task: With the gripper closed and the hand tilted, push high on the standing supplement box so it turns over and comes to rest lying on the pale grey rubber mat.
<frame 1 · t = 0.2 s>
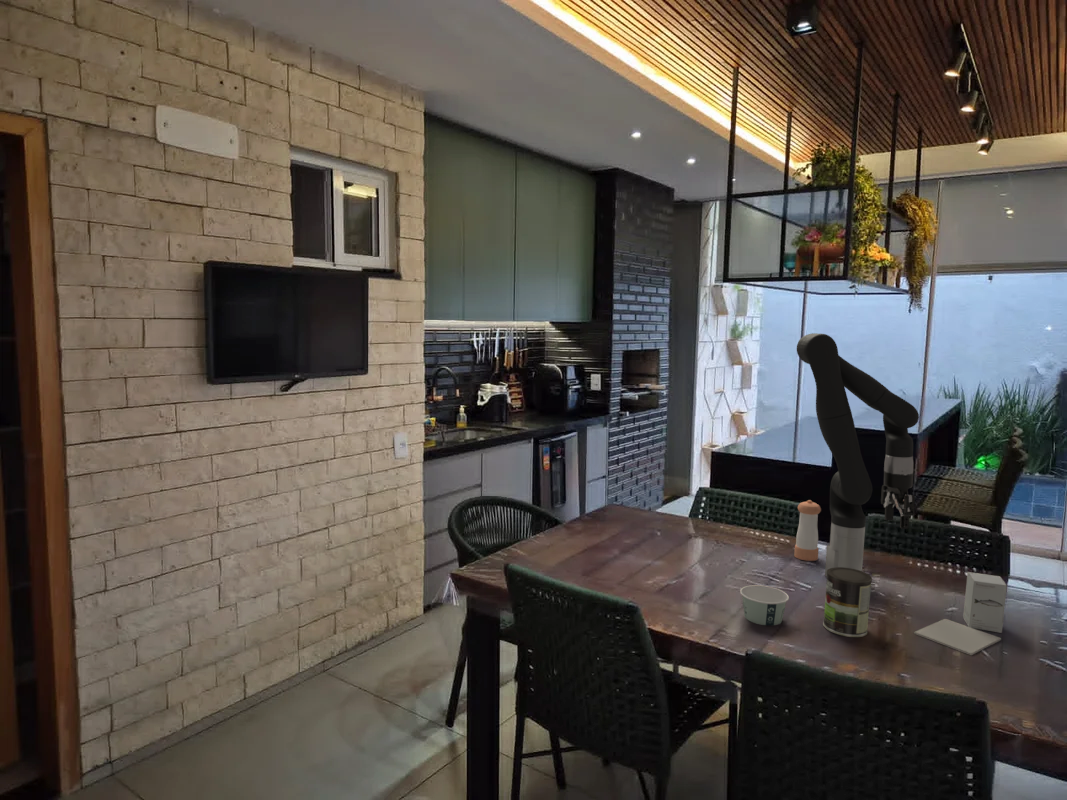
hand: (896, 524, 203), 18 cm above the table, tool pointing down, fingers open, 8 cm apart
coffee can: (845, 629, 172), on the table
mat: (957, 636, 168), on the table
supplement box: (982, 626, 175), on the table
pepper shaker: (805, 557, 225), on the table
food container: (762, 618, 177), on the table
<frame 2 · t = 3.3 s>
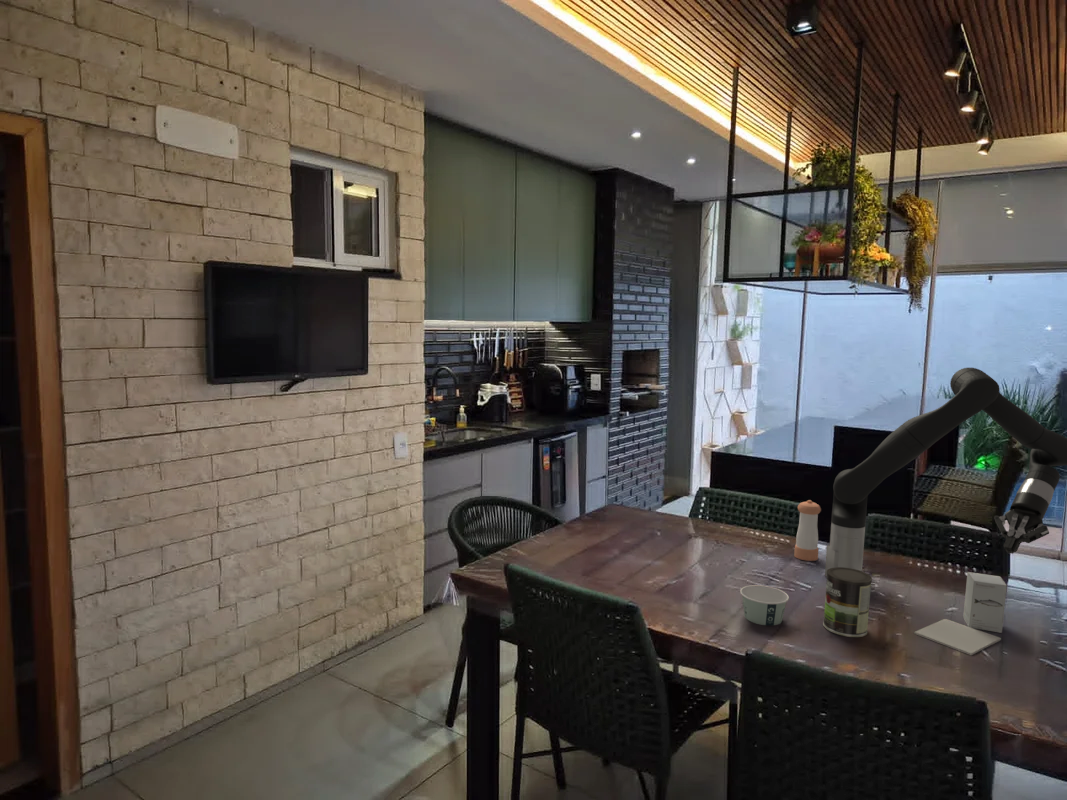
hand: (1008, 551, 180), 18 cm above the table, tool tilted 45°, fingers closed
nothing on the table moved.
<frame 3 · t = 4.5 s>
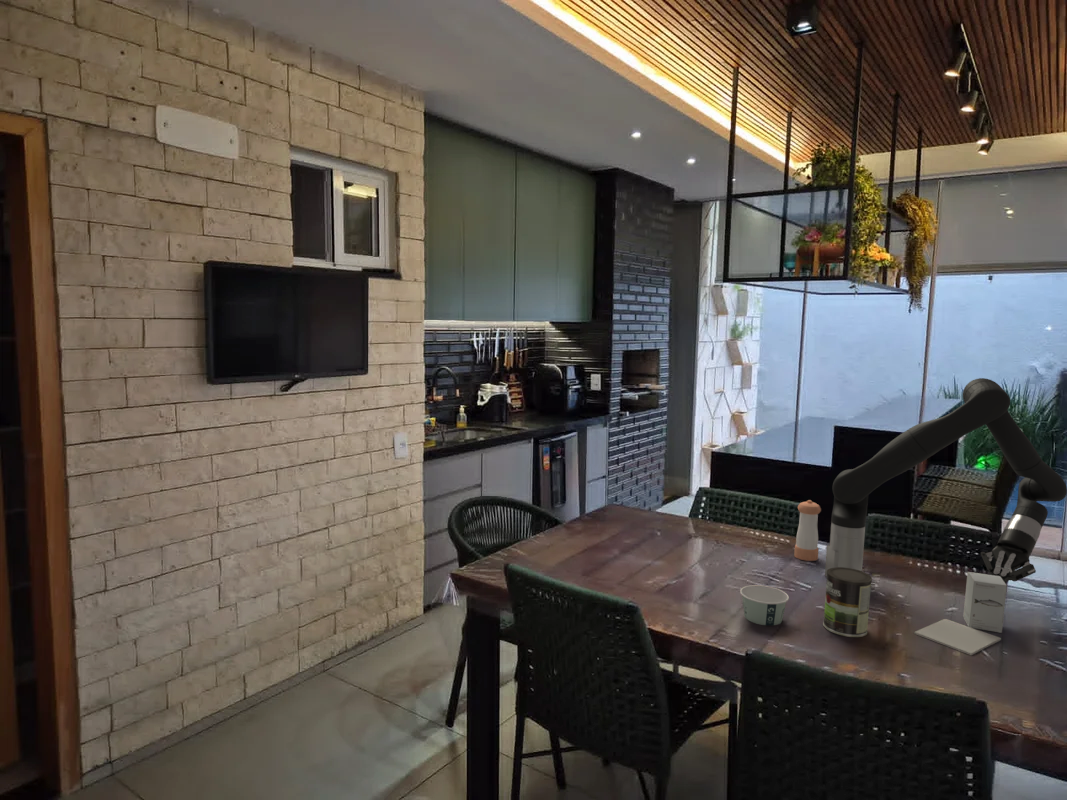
hand: (994, 589, 177), 8 cm above the table, tool tilted 45°, fingers closed
supplement box: (982, 626, 175), on the table, touching gripper
everything else where it was.
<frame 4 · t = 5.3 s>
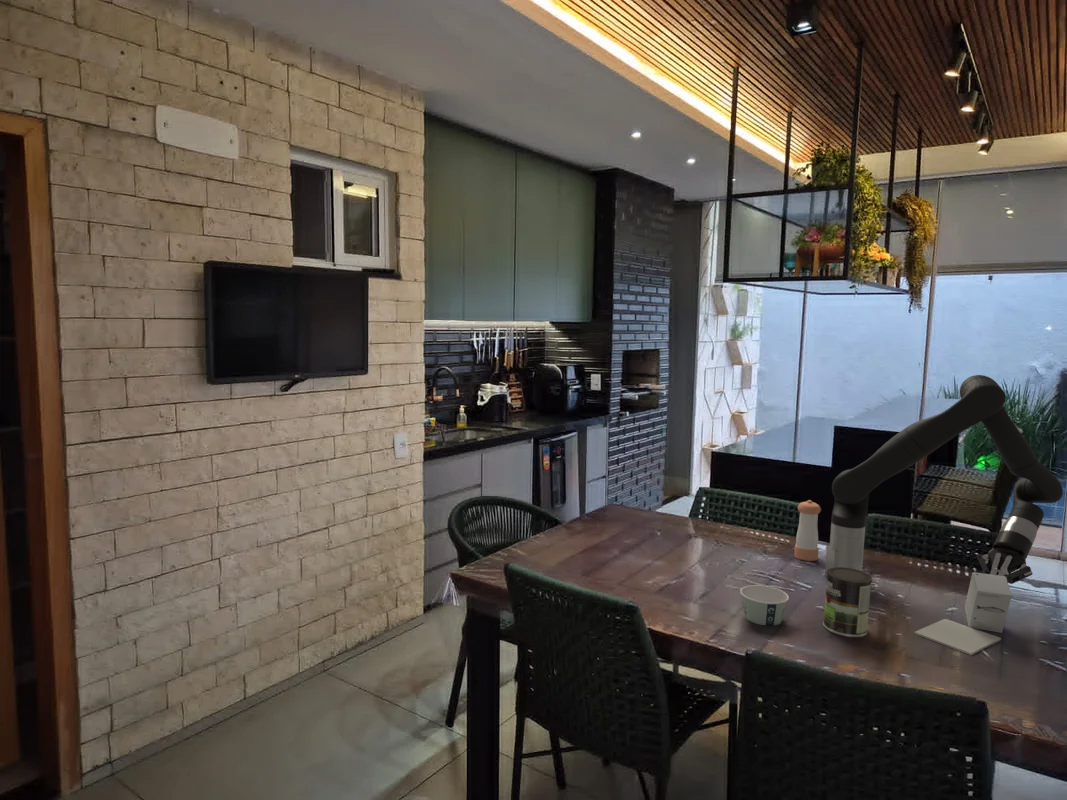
hand: (991, 592, 175), 9 cm above the table, tool tilted 45°, fingers closed
supplement box: (982, 621, 175), point 1 cm above the table, touching gripper
everything else where it was.
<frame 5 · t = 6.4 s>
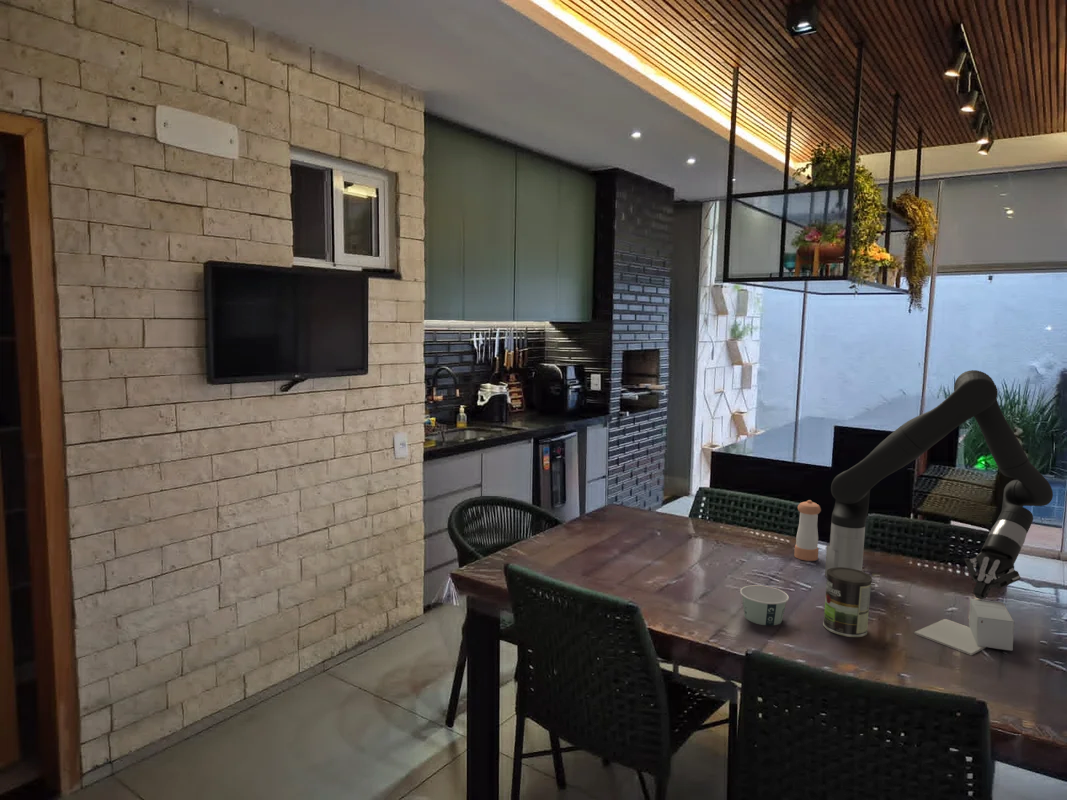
hand: (978, 597, 172), 8 cm above the table, tool tilted 45°, fingers closed
supplement box: (986, 613, 172), point 4 cm above the table, touching gripper, mat
everything else where it was.
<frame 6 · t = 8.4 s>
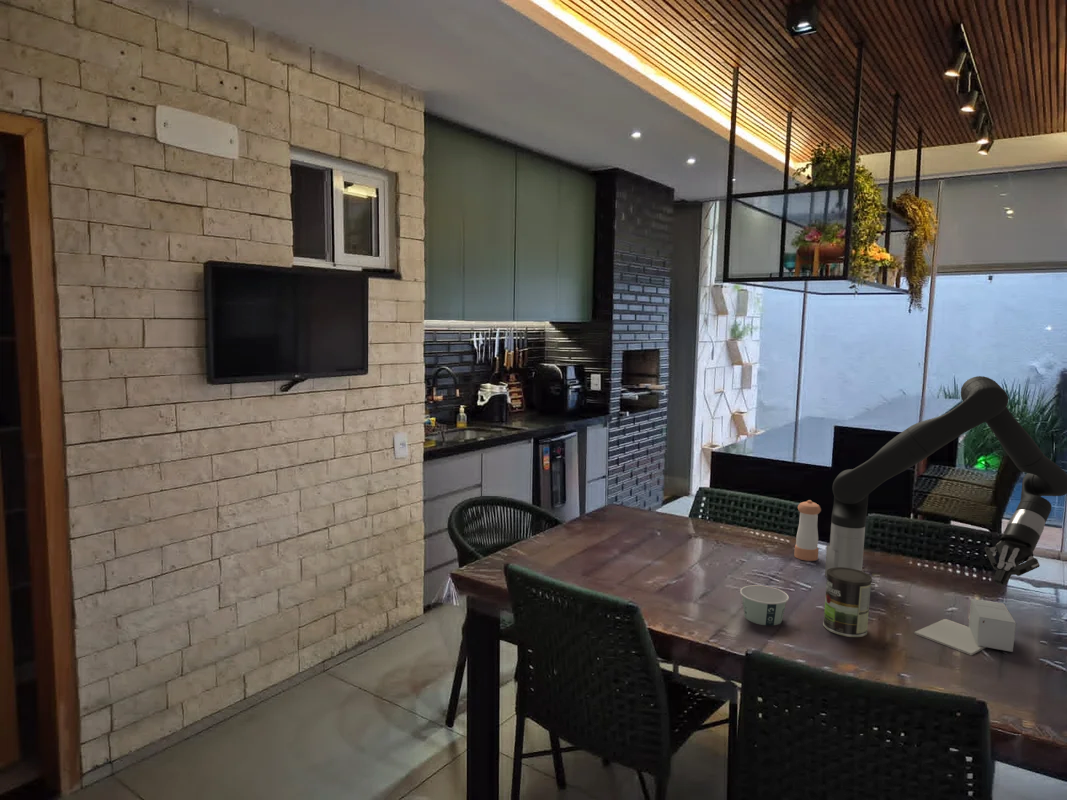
hand: (998, 583, 177), 10 cm above the table, tool tilted 45°, fingers closed
supplement box: (986, 614, 172), point 4 cm above the table, touching mat
everything else where it was.
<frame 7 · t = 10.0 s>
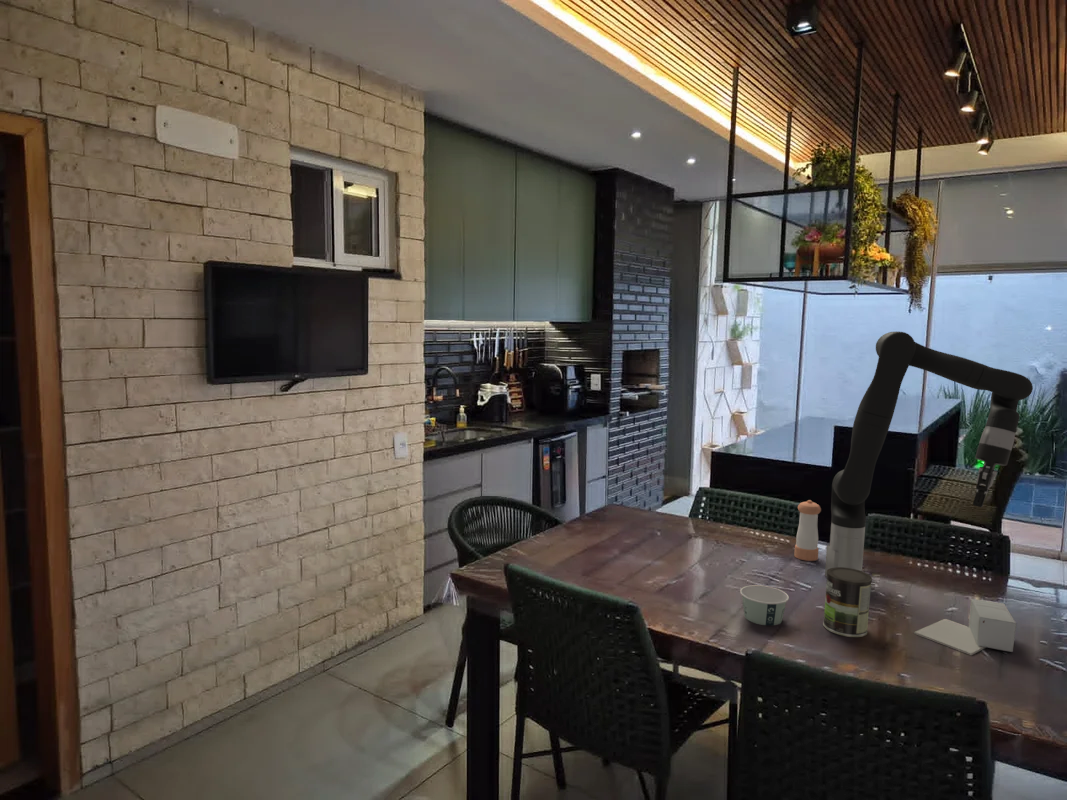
hand: (977, 506, 188), 27 cm above the table, tool tilted 15°, fingers closed
nothing on the table moved.
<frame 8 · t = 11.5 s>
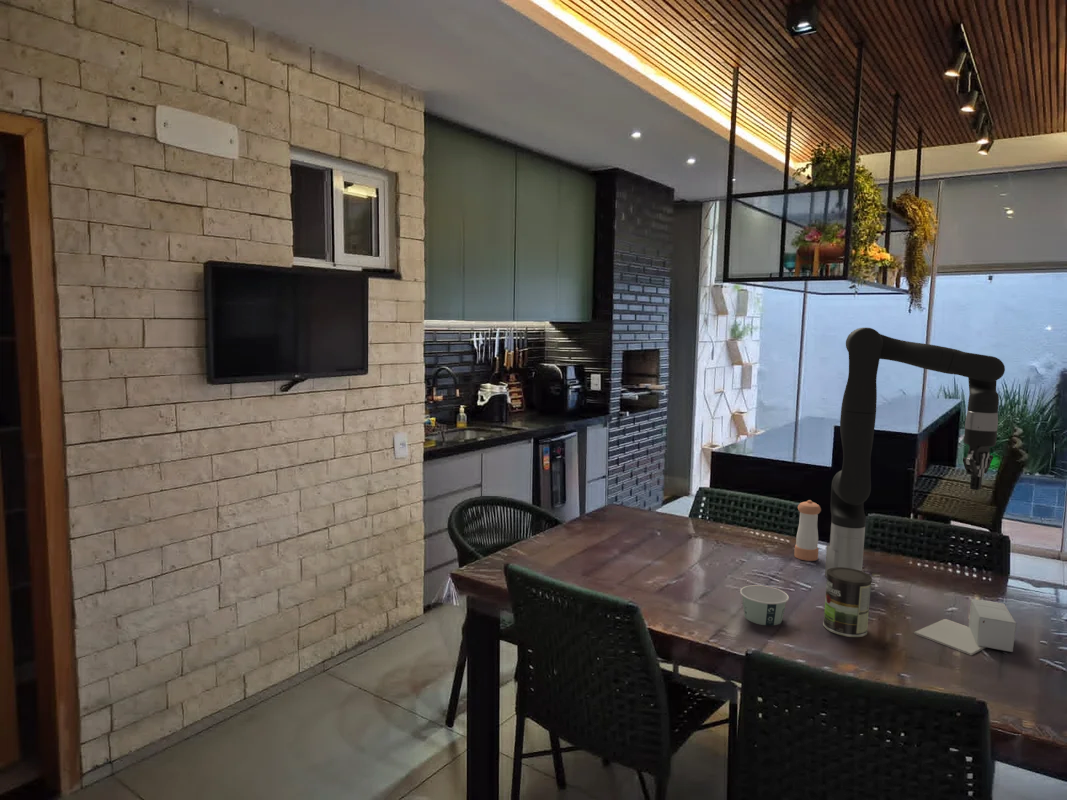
hand: (975, 489, 191), 31 cm above the table, tool pointing down, fingers closed
nothing on the table moved.
at the end: supplement box tilted 90°; supplement box 10.4 cm from the mat (horizontally); the gripper is holding nothing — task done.
